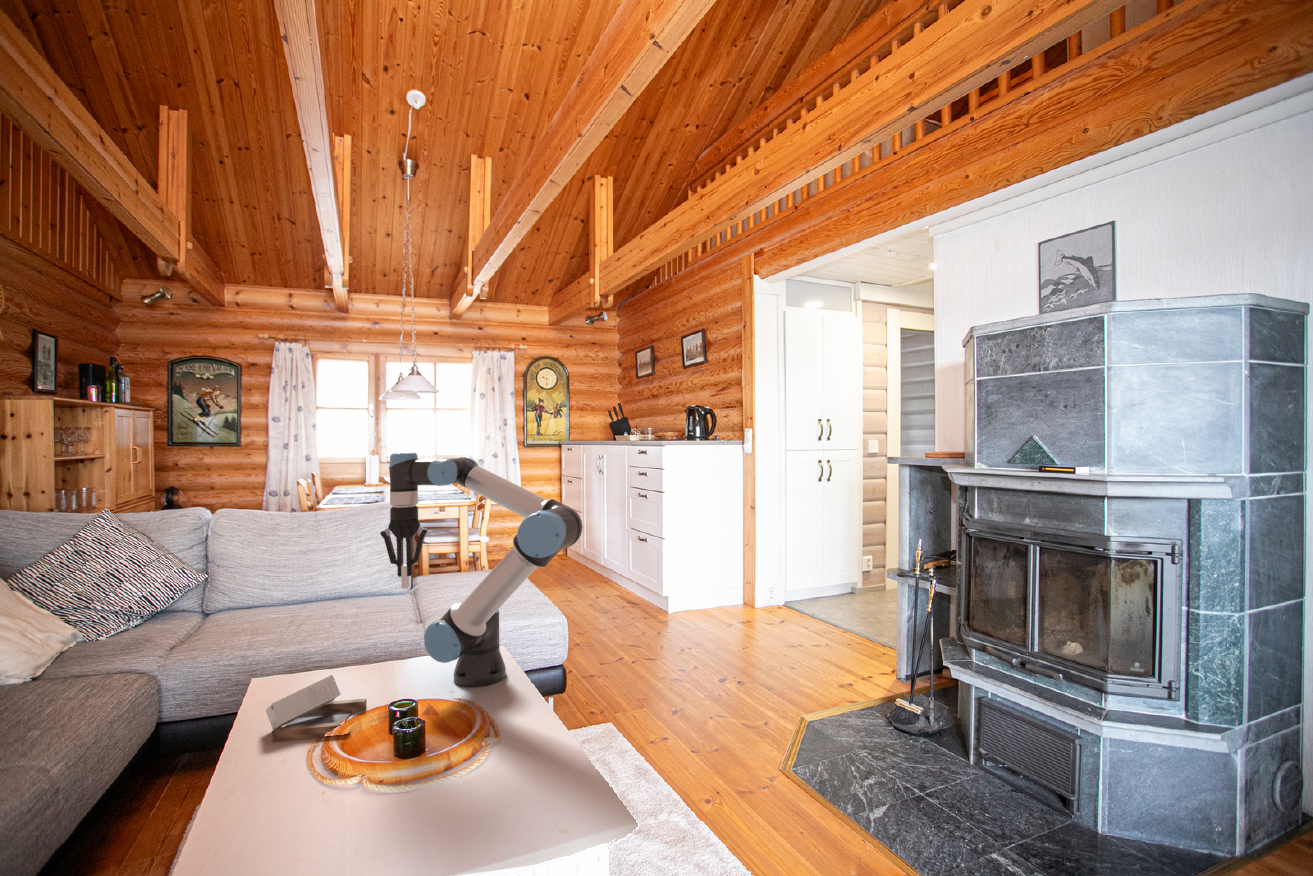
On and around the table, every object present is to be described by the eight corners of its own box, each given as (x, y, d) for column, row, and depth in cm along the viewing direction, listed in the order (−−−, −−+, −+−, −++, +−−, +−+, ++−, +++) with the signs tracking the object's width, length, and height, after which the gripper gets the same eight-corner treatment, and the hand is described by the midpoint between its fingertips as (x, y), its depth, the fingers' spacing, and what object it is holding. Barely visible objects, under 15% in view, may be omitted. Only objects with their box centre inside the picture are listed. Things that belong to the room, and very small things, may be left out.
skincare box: (334, 700, 167) (273, 732, 156) (325, 679, 168) (263, 710, 157) (341, 693, 161) (279, 727, 150) (332, 672, 162) (269, 704, 151)
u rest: (366, 707, 168) (366, 698, 168) (348, 734, 153) (348, 724, 153) (297, 713, 165) (297, 704, 165) (272, 742, 150) (271, 731, 150)
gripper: (430, 503, 186) (431, 583, 186) (383, 505, 184) (384, 586, 183) (425, 506, 179) (426, 589, 178) (376, 507, 176) (377, 591, 176)
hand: (405, 587), depth 181 cm, fingers closed
